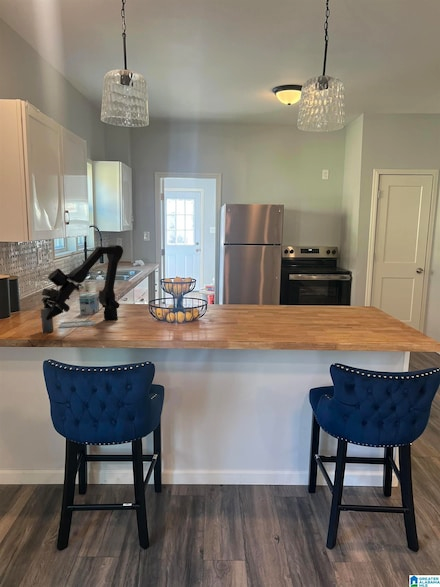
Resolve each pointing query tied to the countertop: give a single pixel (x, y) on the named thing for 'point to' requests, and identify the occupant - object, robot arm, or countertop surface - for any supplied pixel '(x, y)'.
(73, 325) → the label plate
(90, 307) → the light bulb box
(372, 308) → the countertop surface
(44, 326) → the post
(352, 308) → the countertop surface
